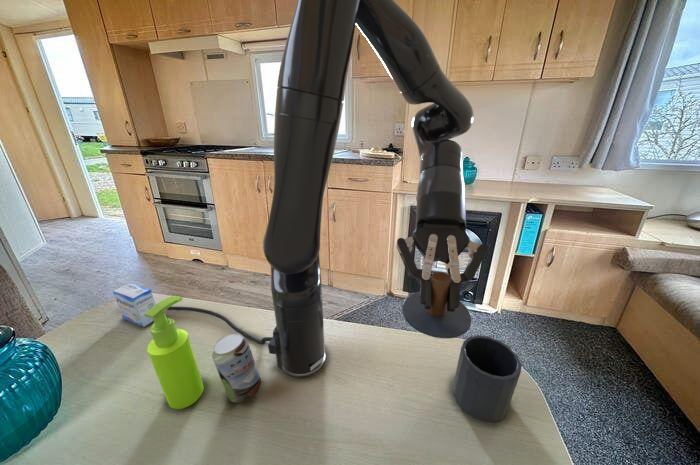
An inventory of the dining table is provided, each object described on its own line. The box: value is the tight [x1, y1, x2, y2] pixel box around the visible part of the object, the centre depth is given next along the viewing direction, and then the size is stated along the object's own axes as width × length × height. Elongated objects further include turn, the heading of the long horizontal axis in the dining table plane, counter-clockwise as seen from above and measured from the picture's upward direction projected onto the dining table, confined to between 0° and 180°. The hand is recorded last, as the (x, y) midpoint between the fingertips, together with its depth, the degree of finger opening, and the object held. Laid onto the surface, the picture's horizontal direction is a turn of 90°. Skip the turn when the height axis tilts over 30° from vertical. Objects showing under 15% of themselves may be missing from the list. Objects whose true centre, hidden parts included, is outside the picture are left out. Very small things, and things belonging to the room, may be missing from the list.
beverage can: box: [211, 332, 262, 404], centre depth 50 cm, size 6×7×12 cm
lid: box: [401, 271, 473, 339], centre depth 41 cm, size 10×10×7 cm
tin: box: [452, 334, 523, 423], centre depth 49 cm, size 9×9×10 cm
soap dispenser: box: [144, 295, 205, 410], centre depth 48 cm, size 6×7×20 cm
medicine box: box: [112, 282, 157, 328], centre depth 69 cm, size 8×4×9 cm, turn 68°
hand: (439, 309), depth 39 cm, fingers closed on lid, 2 cm apart
